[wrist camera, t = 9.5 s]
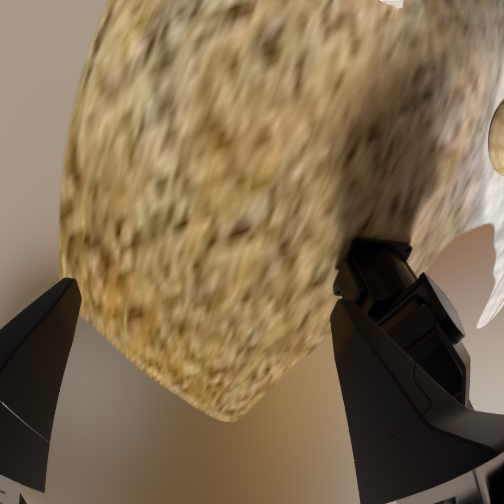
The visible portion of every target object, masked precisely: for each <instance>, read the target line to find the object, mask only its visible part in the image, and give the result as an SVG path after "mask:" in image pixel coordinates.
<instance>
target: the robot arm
mask: <svg viewBox="0 0 504 504" xmlns="http://www.w3.org/2000/svg"><path fill="white" fill-rule="evenodd" d="M357 243H359V244H358V245H356V244H357ZM407 248H408V249H407ZM406 249H407V250H406ZM411 251H412V247H411V245H410V244H408V243H401V242H393V241H385V240H376V239H368V238H355V239H354V240H353V242H352V244H351V247H350V249H349V252H348V254H347V257H346V259H345V260H344V261H343V264H342V266H341V269H340V271H339V274H338V276H337V279H336V284H335V286H334V289H333V292H334V294H335V295H336V296H342V298H341V299H338V301H337V302H336V305H335V307H334V309H333V311H332V313H331V316H330V323H331V331H332V340H333V349H334V358H335V363H336V367H337V372H338V377H339V382H340V386H341V391H342V396H343V401H344V406H345V411H346V417H347V422H348V427H349V433H350V438H351V444H352V450H353V456H354V460H355V461H354V463H355V469H356V475H357V483H358V490H359V497H360V503H361V504H386V503H390V502H393V501H396V503H397V504H504V415H501V414H493V413H486V412H479V411H474V409H473V407H472V405H471V403H470V400H469V388H470V387H469V386H470V356H469V354H468V352H467V350H466V349H465V347H464V345H463V343H462V342H461V339H462V338H464V337H465V336H466V335H465V332H464V329H463V326H462V323H461V320H460V318H459V315H458V313H457V311H456V309H455V308H454V306H453V305H452V303H451V302H450V300H449V299H448V297H447V296H446V295H445V293H444V292H443V291H442V290H441V289H440V288H439V287H438V286H437V285H436V284H435V283H434V282H433V281H432V280H431V279H430V277H429V276H428V275H426V273H425V272H423V273H422V274H421V275H420V276H419V278H417V277H416V275H415V274H414V272H413V271H412V269H411V268H410V266H409V265H408V263H407V262H406V261H407V259H408V257H409V255H410V253H411ZM338 290H339V291H338ZM81 300H82V298H81V293H80V290H79V287H78V284H77V281H76V279H74V278H67V277H66V278H63V279H62V280H61V281H59V282H58V283H57V284H55V285H54V286H53V287H51V289H49V290H48V291H46V292H45V293H44V294H43V295H41V296H40V297H39V298H37V299H36V300H35V301H34V302H32V303H31V304H30V305H29V306H28V307H26V308H25V309H24V310H23V311H22V312H20V313H19V314H18V315H17V316H16V317H14V318H13V319H12V320H11V321H10V322H9V323H7V324H6V325H5V326H4V327H3V328H2V329H0V504H26V502H25V500H24V498H23V497H22V495H21V493H20V488H21V485H24V486H26V487H29V488H31V489H34V490H37V491H39V492H42V493H44V492H45V482H46V470H47V461H48V453H49V446H50V443H49V442H50V438H51V432H52V426H53V420H54V415H55V410H56V405H57V400H58V396H59V392H60V387H61V383H62V379H63V375H64V371H65V367H66V363H67V359H68V356H69V352H70V349H71V346H72V342H73V338H74V334H75V329H76V324H77V319H78V315H79V310H80V306H81Z"/></svg>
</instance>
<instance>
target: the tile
mask: <svg viewBox="0 0 504 504" xmlns="http://www.w3.org/2000/svg"><path fill="white" fill-rule="evenodd" d="M380 1H382V2H384V3H387V4H389V5H391V6H394V7H396V8H402V6H403V0H380Z"/></svg>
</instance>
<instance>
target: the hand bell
mask: <svg viewBox="0 0 504 504" xmlns="http://www.w3.org/2000/svg"><path fill="white" fill-rule="evenodd" d="M489 154H490V159H491V162H492V165H493V167H494V168H495V170H496V171H497V172H498V173H499V174H500V175H503V176H504V103H503V104H502V105H501V106H500V107H499V109H498V110H497V112H496V114H495V116H494V118H493V121H492V124H491V129H490V133H489Z"/></svg>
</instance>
